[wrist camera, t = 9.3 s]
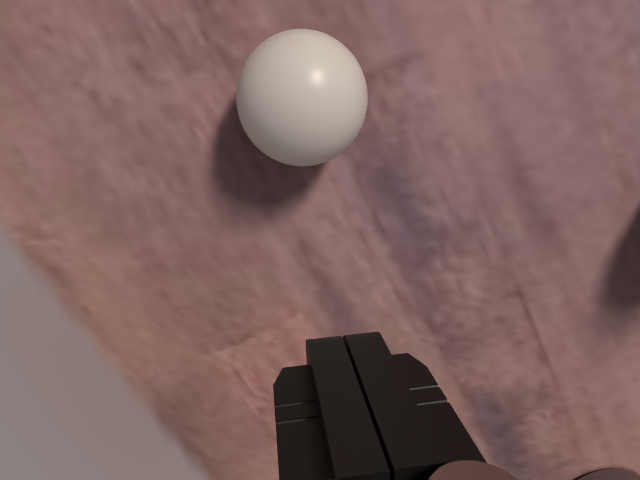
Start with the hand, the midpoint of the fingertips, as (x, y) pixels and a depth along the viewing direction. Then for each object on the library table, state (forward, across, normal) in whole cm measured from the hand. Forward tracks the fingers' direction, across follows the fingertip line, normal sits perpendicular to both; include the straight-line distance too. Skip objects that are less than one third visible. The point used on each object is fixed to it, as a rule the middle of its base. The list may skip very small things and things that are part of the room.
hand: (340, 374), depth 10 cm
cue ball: (+14, -1, -5) cm, 15 cm away
